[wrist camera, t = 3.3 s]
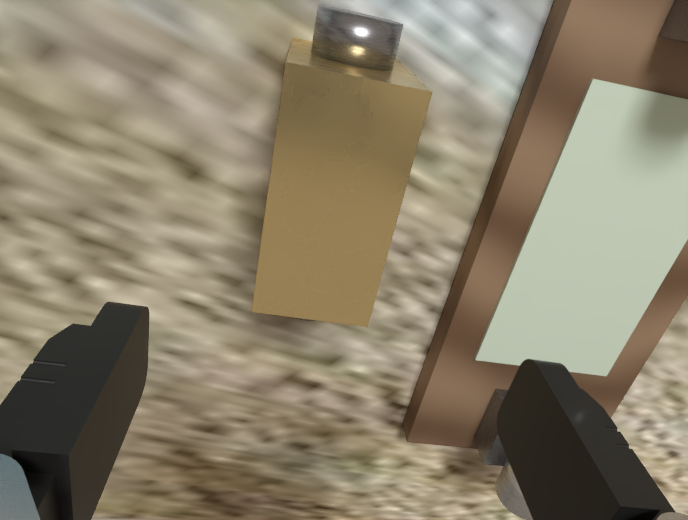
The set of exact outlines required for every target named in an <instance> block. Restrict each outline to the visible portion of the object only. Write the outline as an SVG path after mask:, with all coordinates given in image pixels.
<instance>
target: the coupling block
mask: <svg viewBox="0 0 688 520" xmlns="http://www.w3.org/2000/svg"><path fill="white" fill-rule="evenodd" d="M402 28H403V24H401V23H398V22H394V21H391V20H387V19H383V18H379V17H375V16H371V15H366V14H362V13H358V12H353V11H348V10H344V9H339V8H334V7H328V6H321V5H318V10H317V16H316V23H315V29H314V35H313V42H311V41H307V40H302V39H297V38H293V39H292V42H291V45H290V49H289V52H288V56H287V59H286V63H285V71H284V78H283V85H282V92H281V100H280V107H279V114H278V122H277V129H276V136H275V143H274V151H273V158H272V165H271V173H270V180H269V187H268V195H267V202H266V209H265V216H264V224H263V231H262V238H261V246H260V253H259V260H258V267H257V275H256V282H255V289H254V297H253V304H252V311H251V312H255V313H263V314H271V315H279V316H286V317H293V318H297V319H301V320H309V321H314V320H318V321H325V322H333V323H341V324H349V325H356V326H364V327H368V323H369V320H370V316H371V313H372V309H373V305H374V302H375V298H376V294H377V291H378V287H379V284H380V280H381V276H382V273H383V269H384V265H385V262H386V258H387V255H388V251H389V247H390V244H391V240H392V236H393V233H394V229H395V226H396V222H397V218H398V215H399V211H400V207H401V204H402V200H403V197H404V193H405V189H406V186H407V182H408V178H409V175H410V171H411V168H412V164H413V160H414V157H415V153H416V149H417V146H418V142H419V138H420V135H421V131H422V128H423V124H424V120H425V117H426V113H427V109H428V106H429V102H430V99H431V95H432V91H431V90H430V89H429V88H428V87H427V86H426V85H424V84H423V83H422V82H421V81H420V80H419V79H418V78H417V77H416V76H415V75H414V74H413V73H412V72H410V71H409V70H408V69H407V68H406V67H405V66H404V65H403V64H402V63H401V62H400V61H399V60H397V59H395V58H396V54H397V50H398V45H399V41H400V37H401V32H402Z"/></svg>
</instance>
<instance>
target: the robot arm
mask: <svg viewBox="0 0 688 520" xmlns="http://www.w3.org/2000/svg"><path fill="white" fill-rule="evenodd" d="M148 340H149V309H148V307H144V306H137V305H129V304H122V303H114V302H107V303H106V304H105V305H104V306H103V308H102V309H101V311H100V312H99V314H98V315H97V317H96V319H95V320H94V322H93V323H92V325H91V326H87V325H79V324H72V325H70V326H69V327H67V328H65V329H64V330H62V331H61V332H59V333H58V334H56V335H55V336H53V337H52V338H50V339H49V340H48V341H47V342H46V344H45V345H44V346H43V348H42V349H41V350H40V352H39V353H38V354H37V356H36V357H35V359H34V362H33V364H30V365H29V367H28V368H27V369H26V371H25V372H24V374H23V375H22V376H21V380H20V381H18V382H17V383H16V384H15V386H14V387H13V388H12V390H11V391H10V393H9V394H8V395H7V397H6V398H5V399H4V401H3V402H2V403H1V405H0V520H91V519H92V516H93V514H94V511H95V509H96V506H97V504H98V501H99V499H100V497H101V494H102V492H103V489H104V487H105V484H106V482H107V479H108V477H109V475H110V472H111V470H112V467H113V465H114V462H115V460H116V457H117V455H118V453H119V450H120V448H121V445H122V443H123V440H124V438H125V435H126V433H127V431H128V428H129V426H130V423H131V421H132V418H133V416H134V413H135V411H136V409H137V406H138V404H139V401H140V399H141V396H142V393H143V390H144V386H145V381H146V376H147V368H148ZM497 431H498V436H499V439H500V441H501V444H502V446H503V449H504V451H505V453H506V456H507V458H508V461H509V463H510V465H511V468H512V470H513V473H514V475H515V478H516V480H517V482H518V485H519V487H520V490H521V492H522V494H523V497H524V499H525V502H526V504H527V507H528V509H529V511H530V514H531V516H532V519H533V520H688V516H687V515H684V514H681V513H676V512H675V511H674V509H673V508H672V507H671V505H670V504H669V502H668V501H667V499H666V498H665V496H664V495H663V493H662V492H661V491H660V489H659V488H658V486H657V485H656V483H655V482H654V480H653V479H652V477H651V476H650V475H649V473H648V472H647V470H646V469H645V467H644V466H643V464H642V463H641V462H640V460H639V459H638V457H637V456H636V454H635V453H634V451H633V450H632V449H629V444H628V443H627V441H626V440H625V438H624V437H623V435H622V434H621V432H617V427H616V425H615V424H614V422H613V421H612V419H611V418H610V417H609V415H608V414H607V412H606V411H605V409H604V408H603V407H602V406H601V405H600V404H599V403H598V402H597V401H595V400H594V399H593V398H592V397H591V396H590V395H589V394H588V393H587V392H585V391H584V390H583V389H580V388H579V386H578V385H577V383H576V382H575V380H574V379H573V377H572V376H571V374H570V373H569V371H568V370H567V368H566V367H565V366H564V365H563V364H561V363H556V362H548V361H541V360H533V359H526V360H524V361H523V362H522V363H521V365H520V366H519V368H518V371H517V373H516V375H515V377H514V379H513V381H512V383H511V385H510V387H509V389H508V391H507V393H506V396H505V398H504V400H503V402H502V404H501V406H500V408H499V411H498V416H497Z"/></svg>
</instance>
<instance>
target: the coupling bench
mask: <svg viewBox="0 0 688 520" xmlns="http://www.w3.org/2000/svg"><path fill="white" fill-rule="evenodd" d="M687 296H688V0H554V3H553V5H552V8H551V11H550V14H549V17H548V19H547V22H546V25H545V28H544V31H543V33H542V36H541V39H540V42H539V44H538V47H537V50H536V53H535V56H534V58H533V61H532V64H531V67H530V70H529V72H528V75H527V78H526V81H525V84H524V86H523V89H522V92H521V95H520V98H519V100H518V103H517V106H516V109H515V111H514V114H513V117H512V120H511V123H510V125H509V128H508V131H507V134H506V137H505V139H504V142H503V145H502V148H501V151H500V153H499V156H498V159H497V162H496V165H495V167H494V170H493V173H492V176H491V178H490V181H489V184H488V187H487V190H486V192H485V195H484V198H483V201H482V204H481V206H480V209H479V212H478V215H477V218H476V220H475V223H474V226H473V229H472V231H471V234H470V237H469V240H468V243H467V245H466V248H465V251H464V254H463V257H462V259H461V262H460V265H459V268H458V271H457V273H456V276H455V279H454V282H453V285H452V287H451V290H450V293H449V296H448V298H447V301H446V304H445V307H444V310H443V312H442V315H441V318H440V321H439V324H438V326H437V329H436V332H435V335H434V338H433V340H432V343H431V346H430V349H429V352H428V354H427V357H426V360H425V363H424V365H423V368H422V371H421V374H420V377H419V379H418V382H417V385H416V388H415V391H414V393H413V396H412V399H411V402H410V405H409V407H408V410H407V413H406V416H405V418H404V421H403V426H404V431H405V436H406V440H407V442H413V443H424V444H434V445H445V446H455V447H465V448H476V449H478V451H479V454H480V456H481V459H482V462H483V464H488V465H499V466H503V468H502V470H501V472H500V474H499V476H498V478H497V480H496V484H495V488H496V493H497V495H498V497H499V499H500V501H501V502H502V503H503V505H504V506H505V507H506V508H507V509H508V510H509V511H511V512H512V513H513V514H515V515H517V516H519V517H521V518H523V519H526V520H533V519H532V516H531V514H530V511H529V509H528V507H527V504H526V502H525V499H524V497H523V494H522V492H521V490H520V487H519V485H518V482H517V480H516V478H515V475H514V473H513V470H512V468H511V465H510V463H509V461H508V458H507V456H506V453H505V451H504V449H503V446H502V444H501V441H500V439H499V436H498V431H497V416H498V411H499V408H500V406H501V404H502V402H503V400H504V398H505V396H506V393H507V391H508V389H509V387H510V385H511V383H512V381H513V379H514V377H515V375H516V373H517V371H518V368H519V366H520V365H521V363H522V362H523V361H524V360H526V359H533V360H541V361H548V362H556V363H561V364H563V365H564V366H565V367H566V368H567V370H568V371H569V373H570V374H571V376H572V377H573V379H574V380H575V382H576V383H577V385H578V386H579V388H580V389H583V390H584V391H585V392H587V393H588V394H589V395H590V396H591V397H592V398H593V399H594V400H595V401H597V402H598V403H599V404H600V405H601V406H602V407H603V408H604V409H605V411H606V412H607V414H608V415H609V417H610V418H611V416H612V415H613V413H614V412H615V410H616V409H617V407H618V405H619V404H620V402H621V401H622V399H623V397H624V396H625V394H626V393H627V391H628V389H629V388H630V386H631V385H632V383H633V382H634V380H635V378H636V377H637V375H638V374H639V372H640V370H641V369H642V367H643V366H644V364H645V362H646V361H647V359H648V358H649V356H650V354H651V353H652V351H653V350H654V348H655V347H656V345H657V343H658V342H659V340H660V339H661V337H662V335H663V334H664V332H665V331H666V329H667V327H668V326H669V324H670V323H671V321H672V320H673V318H674V316H675V315H676V313H677V312H678V310H679V308H680V307H681V305H682V304H683V302H684V300H685V299H686V297H687Z"/></svg>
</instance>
